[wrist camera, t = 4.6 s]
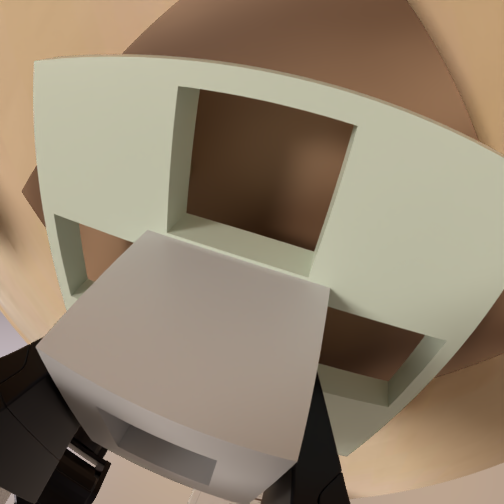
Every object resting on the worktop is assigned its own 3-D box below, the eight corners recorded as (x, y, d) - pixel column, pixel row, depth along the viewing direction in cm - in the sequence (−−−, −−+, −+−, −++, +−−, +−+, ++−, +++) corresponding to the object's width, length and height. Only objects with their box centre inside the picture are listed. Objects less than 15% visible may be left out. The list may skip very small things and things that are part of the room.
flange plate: (535, 173, 6) (666, 322, 1) (349, 436, 14) (330, 539, 9) (62, 56, 7) (-99, 104, 3) (95, 345, 15) (38, 424, 11)
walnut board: (505, 318, 12) (539, 440, 6) (227, 392, 21) (190, 479, 15) (331, -68, 6) (300, -188, 1) (46, 176, 15) (-49, 239, 10)
